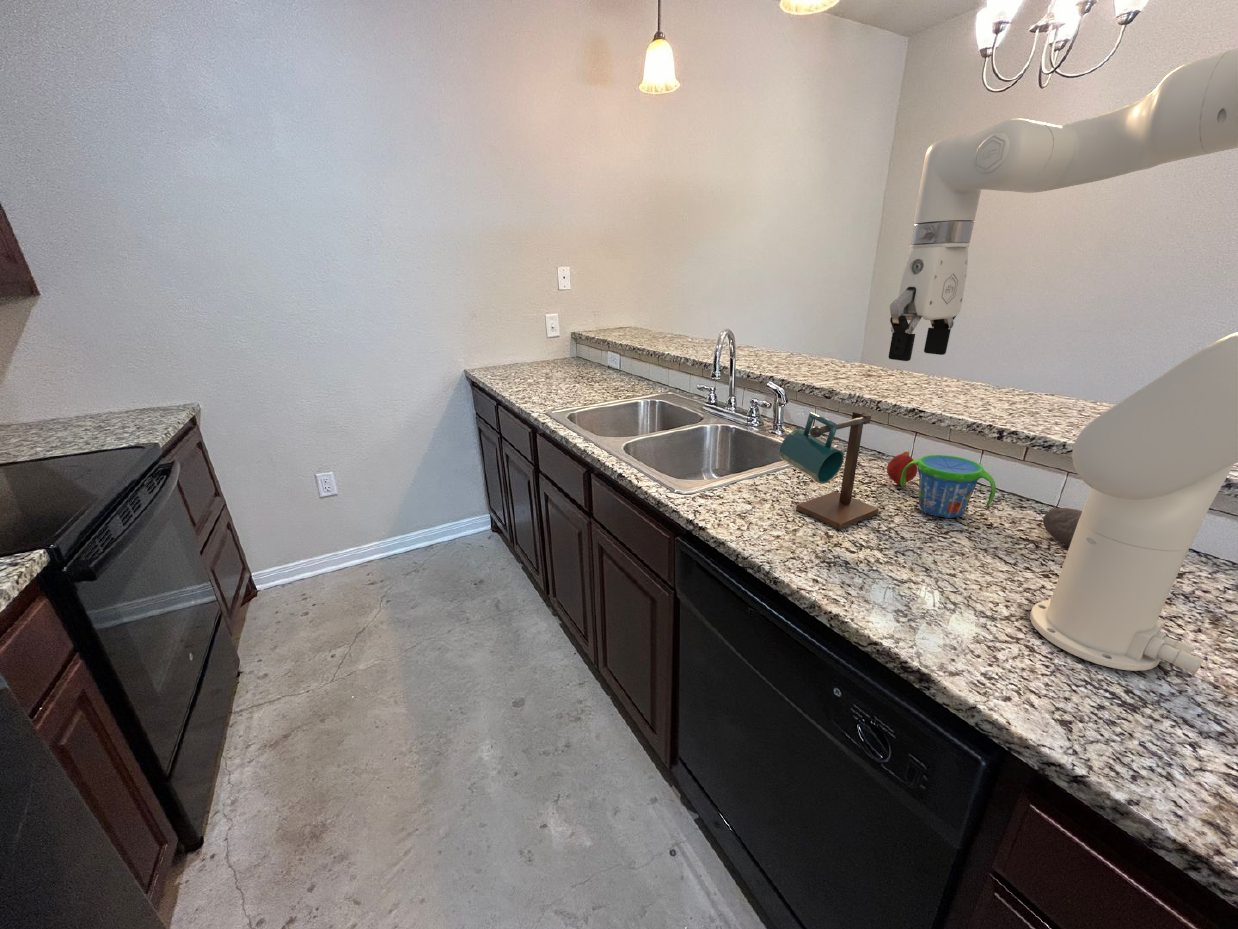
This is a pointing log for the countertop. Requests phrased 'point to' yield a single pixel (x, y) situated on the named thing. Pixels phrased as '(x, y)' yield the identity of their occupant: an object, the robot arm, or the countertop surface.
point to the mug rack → (837, 505)
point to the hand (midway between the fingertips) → (917, 356)
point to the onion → (901, 467)
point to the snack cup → (947, 484)
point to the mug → (812, 451)
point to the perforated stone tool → (1062, 523)
